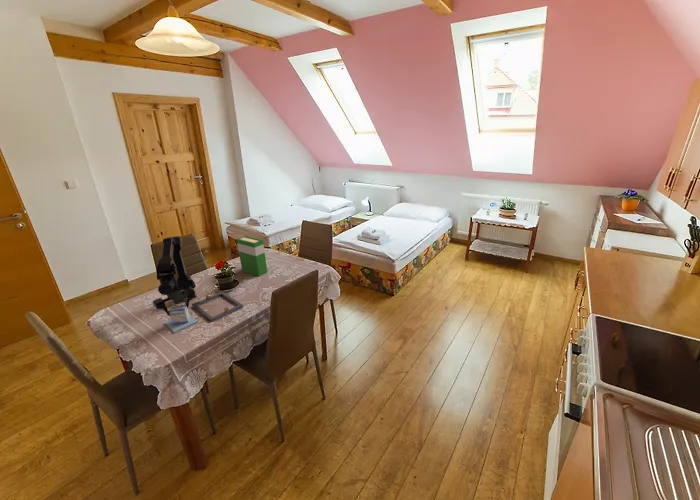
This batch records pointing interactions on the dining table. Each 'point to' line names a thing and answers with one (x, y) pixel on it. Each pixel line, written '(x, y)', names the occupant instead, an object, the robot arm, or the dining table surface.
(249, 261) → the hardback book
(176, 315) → the medicine box
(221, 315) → the grey hollow rectangular frame
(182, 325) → the rubber mat
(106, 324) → the dining table surface
